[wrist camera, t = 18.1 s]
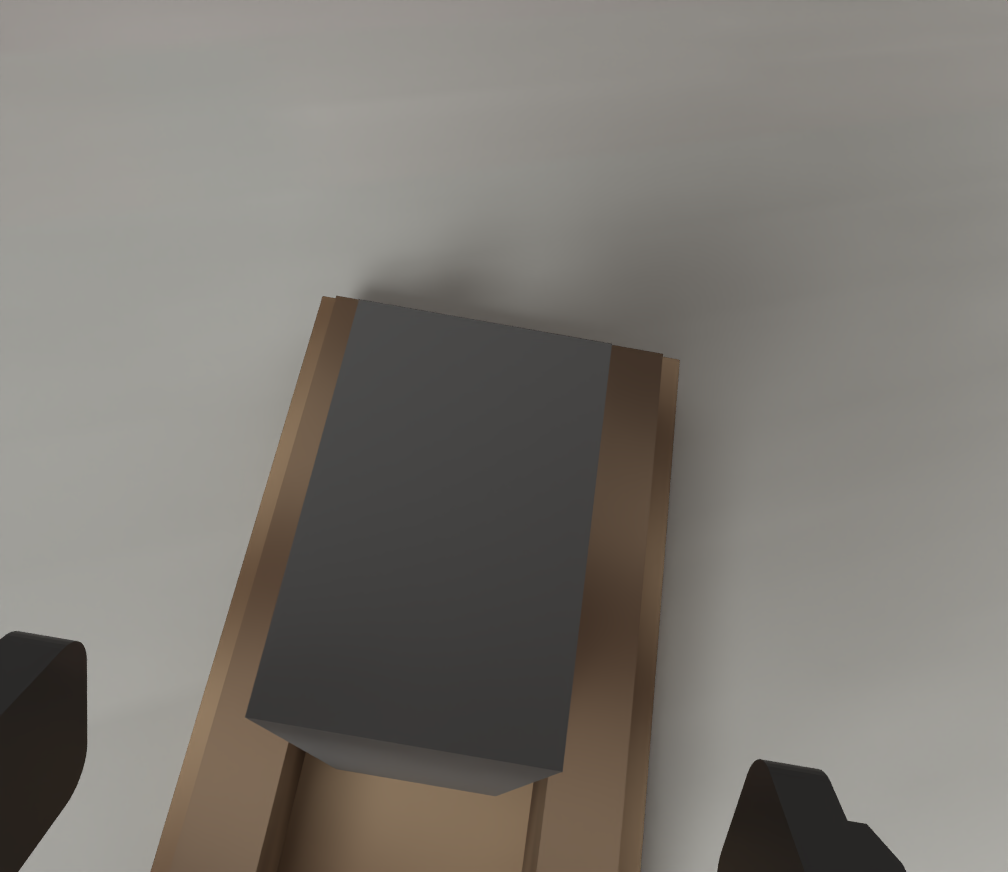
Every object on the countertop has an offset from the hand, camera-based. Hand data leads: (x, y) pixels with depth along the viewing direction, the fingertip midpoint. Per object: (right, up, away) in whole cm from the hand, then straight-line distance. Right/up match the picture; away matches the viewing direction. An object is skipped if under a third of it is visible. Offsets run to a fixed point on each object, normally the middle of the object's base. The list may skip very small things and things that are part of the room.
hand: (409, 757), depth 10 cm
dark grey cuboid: (0, -1, +9) cm, 9 cm away
